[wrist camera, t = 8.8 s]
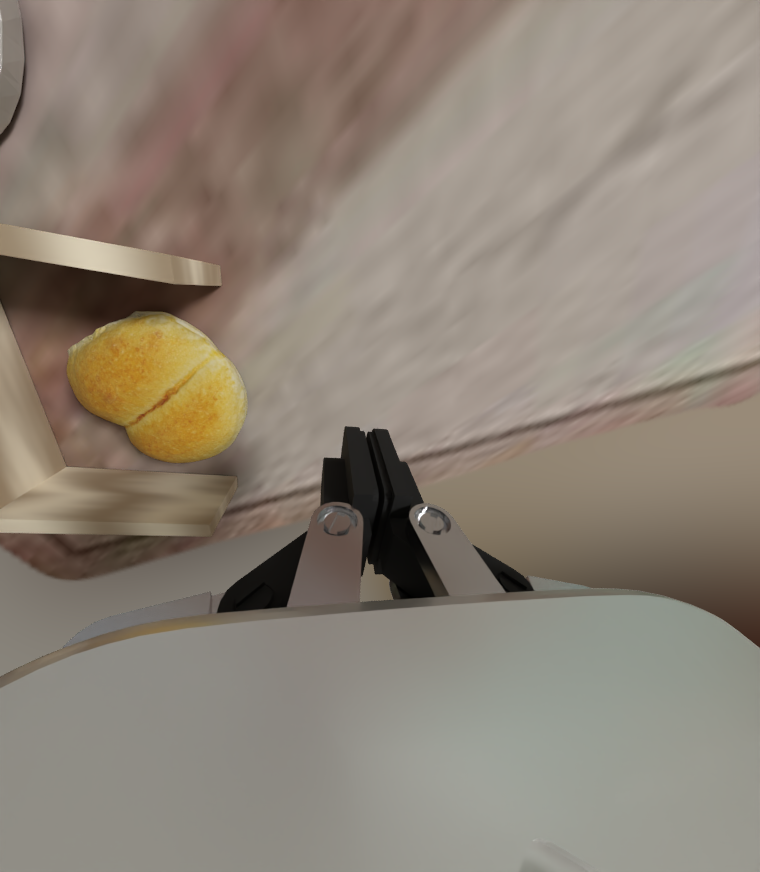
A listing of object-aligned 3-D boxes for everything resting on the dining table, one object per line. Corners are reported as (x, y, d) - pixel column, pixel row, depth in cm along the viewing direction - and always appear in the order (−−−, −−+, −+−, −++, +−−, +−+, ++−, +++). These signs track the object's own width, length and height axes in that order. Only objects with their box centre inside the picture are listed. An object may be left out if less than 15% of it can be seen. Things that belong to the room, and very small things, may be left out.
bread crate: (54, 477, 19) (-30, 531, 15) (-60, 213, 13) (-268, 173, 8) (237, 486, 22) (211, 536, 17) (220, 265, 15) (170, 254, 11)
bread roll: (188, 465, 21) (157, 501, 17) (68, 361, 17) (-5, 379, 13) (280, 411, 20) (266, 437, 16) (176, 284, 15) (127, 282, 12)
